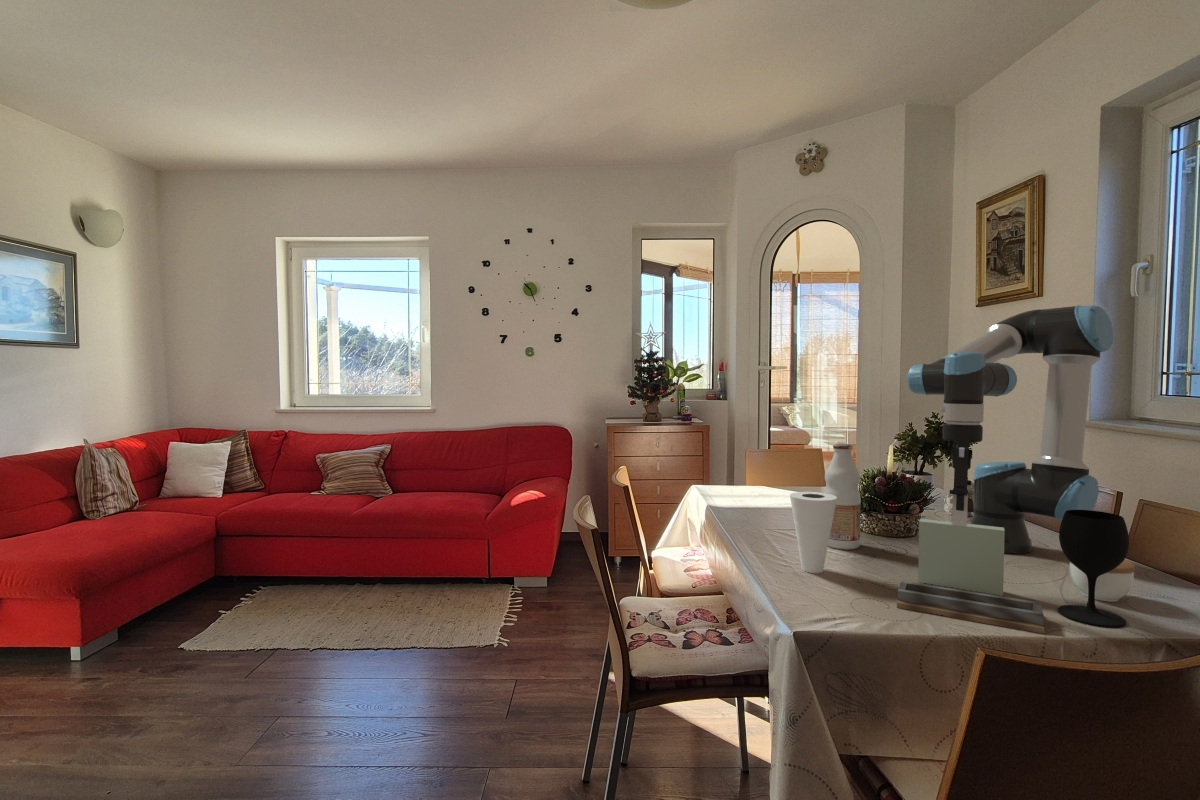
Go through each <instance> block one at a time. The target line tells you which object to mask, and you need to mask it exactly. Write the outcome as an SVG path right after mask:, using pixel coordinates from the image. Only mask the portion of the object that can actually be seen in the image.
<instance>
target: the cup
mask: <svg viewBox="0 0 1200 800" xmlns="http://www.w3.org/2000/svg"><path fill="white" fill-rule="evenodd" d="M789 497H790V504H791V511H792V516H793V522H794V528H795V535H796V541H797V545H798V546H797V547H798V554H799V559H800V567H801V570H802V571H803V572H805V571H806V572H805V573H808V572H809V574H822V573H823V572H824V568H825V562H826V556H827V552H828V547H829V546H828V542H829V536H830V531H831V526H832V521H833V516H834V511H835V505H836V500H837V497H836V496H834V495H831V494H827V493H824V492H820V491H819V492H817V491H795V492H791V493H789Z"/></svg>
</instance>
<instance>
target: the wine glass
mask: <svg viewBox="0 0 1200 800" xmlns="http://www.w3.org/2000/svg"><path fill="white" fill-rule="evenodd" d="M1060 522H1061V523H1060V526H1059V530H1058V531H1059V532H1058V538H1059V540H1058V541H1059V545H1060V547H1061V550H1062V552H1063V555H1064V556H1065V557H1066V558H1067V559H1068V560H1069V563H1070V562H1071V563H1072V564H1074V565H1075V566H1076V567H1077V568H1078V569H1080V570H1081V571H1082V572H1083V573H1085V574H1086V576H1087V579H1088V597H1087V602H1086V603H1087V604H1086V605H1080V604H1079V605H1078V604H1064V605H1059V607H1058V608H1057V613H1058V614H1059V615H1060V616H1061V617H1064V618H1066V619H1068V620H1071V621H1074V622H1075V623H1079V622H1080V624H1083V625H1087V624H1088V626H1093V627H1097V626H1098V628H1105V629H1106V628H1107V629H1108V628H1109V629H1110V628H1111V629H1112V628H1113V629H1116V628H1117V629H1119V628H1123V627H1125V626H1126V625H1127V621H1126V619H1125V618H1123V617H1122V616H1120V615H1119V614H1116V613H1114V612H1111V611H1109V610H1105V609H1101V608H1097V606H1096V600H1095V585H1096V580H1097V578H1098V577H1099V576H1100V575H1103V574H1105V573H1107V572H1110V571H1111V570H1113V569H1115V568H1116V567H1118V566H1119V565H1120V564H1121V563H1122V562H1123V561H1124V560H1126V557H1127V555H1128V552H1129V549H1130V536H1129V531H1128V527H1127V524H1126V520H1125V518H1124V517H1123V516H1122V515H1119V514H1115V513H1112V512H1105V511H1099V510H1067V511H1065V514H1064V516H1063V518H1062V520H1061V521H1060Z"/></svg>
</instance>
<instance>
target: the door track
mask: <svg viewBox="0 0 1200 800" xmlns="http://www.w3.org/2000/svg"><path fill="white" fill-rule="evenodd" d="M896 608H898V609H902V608H903V610H908V609H909V611H913V610H915V612H919V611H921V612H920V613H925V612H928V613H927V614H930V613H933V614H932V615H936V614H937V616H941V615H943V616H942V617H948V618H954V619H958V620H963V621H969V622H970V621H971V622H976V623H980V624H986V625H993V626H998V627H1003V628H1010V629H1015V630H1019V631H1020V630H1021V631H1025V630H1026V631H1025V632H1031V631H1033V633H1036V632H1039V633H1038V634H1042V633H1043V635H1044V634H1045V627H1044V620H1045V619H1044V615H1045V614H1044V611H1043V608H1042V605H1041V602H1040V601H1034V600H1026V599H1022V598H1021V599H1020V598H1013V597H1007V596H1002V595H995V594H989V593H983V592H976V591H970V590H963V589H957V588H951V587H944V586H938V585H931V584H925V583H919V582H912V581H907V580H901V581H900V582H899V586H898V588H897V602H896Z"/></svg>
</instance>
